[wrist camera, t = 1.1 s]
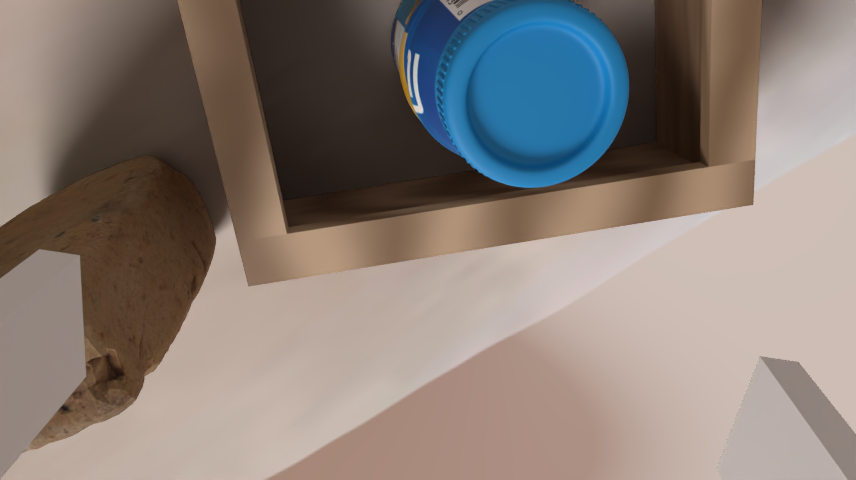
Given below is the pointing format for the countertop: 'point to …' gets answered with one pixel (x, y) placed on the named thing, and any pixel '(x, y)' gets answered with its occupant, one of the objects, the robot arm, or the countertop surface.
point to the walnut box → (472, 191)
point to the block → (119, 275)
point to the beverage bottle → (513, 84)
